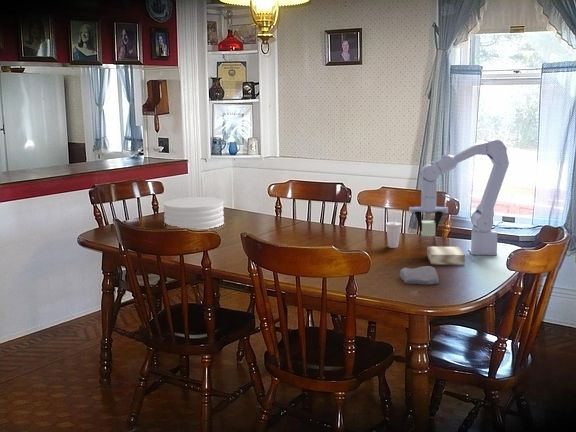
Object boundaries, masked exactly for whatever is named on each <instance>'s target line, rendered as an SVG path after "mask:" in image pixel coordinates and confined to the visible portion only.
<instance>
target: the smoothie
mask: <svg viewBox="0 0 576 432" xmlns="http://www.w3.org/2000/svg"><path fill="white" fill-rule="evenodd" d="M385 227H386V234H387V236H386V237H387V244H388V248H390V249H397V248H398V247H399V241H400V235H401V227H402V223H401V222H399V221H398V222H397V221H396V213H395V212H393V221H388V222H386V223H385Z"/></svg>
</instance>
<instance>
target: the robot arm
mask: <svg viewBox="0 0 576 432" xmlns="http://www.w3.org/2000/svg"><path fill="white" fill-rule="evenodd" d="M507 149H508V147H506V145H505V144H504V142H503V141H501V140H500V139H495V138H493V137H486V138H484V139H483V140H482V139H481V140H480V141H477V142H476V143H474V144H472V145H469V147H467V148H464V149H462V150H460V151H459V152H457V153H455V154H454V155H452V154H447V155H446V154H444V155H441V157H440V158H439V159H437V160H435V161H433V160H432V161H430V164H429V163H428V164H425V165H423V166H422V167H421V169H420V171H419V173H420V176H421V189H420V190H421V193H420V194H421V195H420V206H409V208H408V209H409V210H408V212H409V214H412V213H414V215H415V217H416V221H417V224H418V229H419V232H421V231H422V221H423V215H422V213H423V214H424V213H425V214H426V213H427V214H428V213H430V214H431V213H433V214H434V221H435V223H436V227H435V233H436V232H437V230H438V226H439V223H440V221H441V219H442V218H443V213H444V214H448V213H449V206H437V195H438V194H437V188H438V186H437V184H438V183H437V182H438V180H437V179H438V178H439V176H442V175H445V174H447V173H448V172H450V171H452V170H455V169H456V168H457V166H458V164H459V163H461V162H463V161H466V160H468V159H470V158H472V157H474V156H476V155H480V156H487V157H489V160H490V161H491V163H492V165H493V166H492V168H491V171H490V174H489V177H488V180H487V183H486V185H485V186H486V187H485V189H484V192H483V195H482V198H481V201H480V203H479V204H478V205H477V207H476V209H475V211H474V212H473V213H472V214H471V216H470V222H471V224H472V225H473V226H472V228H471V236H470V237H471V240H470V243H471V244H470V248H468V252H469V253H470V254H471V255H479V256H480V255H481V256H484V255H488V256H489V255H490V256H491V255H493V256H494V255H495V256H496V255H498V253H497V252H498V231H497V230H493V229H492V228H493V226H494V216H495V211H494V210H495V209H494V208H495V205H496V202H497V199H498V197H499V193H500V191H501V187H502V185H503V182H504V179H505V176H506V173H507V171H508V167H509V164H510V161H509V157H508V150H507Z"/></svg>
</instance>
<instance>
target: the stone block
mask: <svg viewBox="0 0 576 432" xmlns="http://www.w3.org/2000/svg"><path fill="white" fill-rule="evenodd" d="M438 275H439V274H438V273H437V271H436V268H435V267H433V266H431V265H430V266H429V265H426V266H419V267H416V268H408V267H403V268H402V269H400V272H399V277H400V279H401V280H403V282H404V284H410V285H411V284H415V285H417V284H418V285H437V284H439V281H440V280H439V276H438Z"/></svg>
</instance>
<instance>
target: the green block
mask: <svg viewBox="0 0 576 432" xmlns="http://www.w3.org/2000/svg"><path fill="white" fill-rule="evenodd" d="M435 227H436V223H435V220H422V231H420V235H421V237H436V232H435Z"/></svg>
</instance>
